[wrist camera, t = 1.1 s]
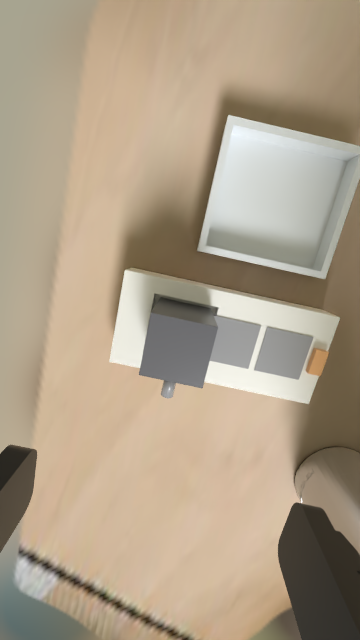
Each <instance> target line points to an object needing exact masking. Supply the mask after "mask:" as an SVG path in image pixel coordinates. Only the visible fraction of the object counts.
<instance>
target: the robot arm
mask: <svg viewBox="0 0 360 640" xmlns="http://www.w3.org/2000/svg"><path fill="white" fill-rule="evenodd" d="M36 459H37V451H36V450H35V449H30V448H25V447H20V446H15V445H9V446H7V447H6V448H5V449H4V450H3V451H2V452H1V454H0V552H1V551H2V549H3V547H4V546H5V544H6V543H7V541H8V539H9V538H10V536H11V535H12V533H13V531H14V530H15V528H16V526H17V525H18V523H19V521H20V520H21V518H22V517H23V515H24V513H25V511H26V509H27V507H28V505H29V502H30V500H31V497H32V493H33V487H34V478H35V469H36ZM295 489H296V492H297V494H298V497H299V499H300V501H301V503H302V504H301V503H294V504H293V506H292V508H291V510H290V513H289V516H288V518H287V521H286V523H285V526H284V529H283V531H282V534H281V536H280V539H279V544H278V557H279V564H280V567H281V571H282V574H283V577H284V581H285V584H286V588H287V591H288V594H289V598H290V601H291V604H292V608H293V611H294V614H295V618H296V621H297V625H298V628H299V631H300V635H301V638H302V640H360V453H359V452H357V451H355V450H352V449H348V448H344V447H333V448H326V449H323V450H320V451H318V452H316V453H314V454H312V455H311V456H309V457H308V458H307V459H306V460H304V462H303V463H302V464H301V465H300V467H299V469H298V471H297V472H296V476H295Z"/></svg>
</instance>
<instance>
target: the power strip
mask: <svg viewBox="0 0 360 640" xmlns="http://www.w3.org/2000/svg"><path fill="white" fill-rule="evenodd" d="M160 297H162V298H166V299H171V300H176V301H180V302H185V303H189V304H194V305H198V306H203V307H207V308H211V310H212V312H213V315H214V318H215V320H216V323H217V325H218V330H217V334H216V338H215V342H214V346H213V350H212V353H211V357H210V361H209V365H208V369H207V373H206V376H205V380H204V382H207V383H212V384H216V385H221V386H226V387H231V388H235V389H240V390H245V391H249V392H254V393H259V394H263V395H268V396H273V397H277V398H282V399H287V400H291V401H296V402H301V403H306V404H309V402H310V399H311V396H312V394H313V391H314V388H315V386H316V383H317V380H318V377H319V376H321V374H322V371H323V368H324V366H325V363H326V360H327V357H328V355H329V352H328V350H329V347H330V345H331V342H332V339H333V336H334V334H335V331H336V328H337V326H338V323H339V320H340V317H338V316H336V315H334V314H331V313H329V312H327V311H324V310H322V309H317V308H313V307H308V306H304V305H299V304H295V303H290V302H286V301H281V300H277V299H272V298H268V297H263V296H259V295H254V294H250V293H245V292H240V291H236V290H231V289H227V288H222V287H218V286H213V285H209V284H204V283H200V282H195V281H191V280H186V279H182V278H177V277H173V276H168V275H164V274H159V273H155V272H150V271H146V270H141V269H137V268H129V269H126V270H125V272H124V278H123V284H122V290H121V296H120V302H119V308H118V314H117V320H116V326H115V332H114V337H113V343H112V349H111V355H110V361H109V362H113V363H118V364H123V365H127V366H132V367H137V368H140V366H141V361H142V356H143V351H144V346H145V341H146V336H147V331H148V326H149V321H150V316H151V312H152V310H153V309H154V307H155V305H156V304H157V302H158V300H159V299H160Z"/></svg>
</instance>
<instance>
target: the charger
mask: <svg viewBox="0 0 360 640" xmlns="http://www.w3.org/2000/svg"><path fill="white" fill-rule="evenodd" d="M217 330H218V325H217V323H216V320H215V318H214V315H213V312H212V310H211V308H207V307H203V306H198V305H194V304H189V303H185V302H180V301H176V300H171V299H166V298H162V297H160V299H159V300H158V302H157V304H156V305H155V307H154V309H153V310H152V312H151V316H150V321H149V326H148V331H147V336H146V341H145V346H144V351H143V356H142V361H141V366H140V371H139V375H142V376H147V377H151V378H156V379H161V380H164V383H163V387H162V392H161V395H162V396H163V397H165V398H172V397H173V393H174V389H175V384H176V383H180V384H184V385H189V386H194V387H198V388H203V384H204V380H205V376H206V373H207V369H208V365H209V361H210V357H211V353H212V350H213V346H214V342H215V338H216V334H217Z"/></svg>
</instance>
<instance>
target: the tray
mask: <svg viewBox="0 0 360 640" xmlns="http://www.w3.org/2000/svg"><path fill="white" fill-rule="evenodd" d="M359 179H360V146H358V145H354V144H350V143H345V142H341V141H337V140H333V139H329V138H324V137H320V136H316V135H312V134H307V133H303V132H299V131H295V130H291V129H286V128H282V127H278V126H274V125H269V124H265V123H261V122H257V121H252V120H248V119H244V118H240V117H236V116H231V115H228V118H227V121H226V124H225V128H224V132H223V137H222V141H221V145H220V150H219V154H218V159H217V163H216V168H215V172H214V177H213V181H212V185H211V190H210V194H209V199H208V203H207V208H206V212H205V217H204V221H203V225H202V230H201V234H200V239H199V243H198V248H197V251H200V252H205V253H209V254H214V255H218V256H223V257H227V258H232V259H236V260H240V261H245V262H249V263H254V264H258V265H263V266H267V267H272V268H276V269H281V270H285V271H289V272H294V273H298V274H303V275H307V276H312V277H316V278H321V279H325V278H326V275H327V272H328V270H329V267H330V264H331V261H332V258H333V255H334V252H335V249H336V246H337V243H338V240H339V237H340V234H341V231H342V229H343V226H344V223H345V220H346V217H347V214H348V211H349V208H350V205H351V202H352V199H353V196H354V193H355V191H356V188H357V185H358V182H359Z"/></svg>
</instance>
